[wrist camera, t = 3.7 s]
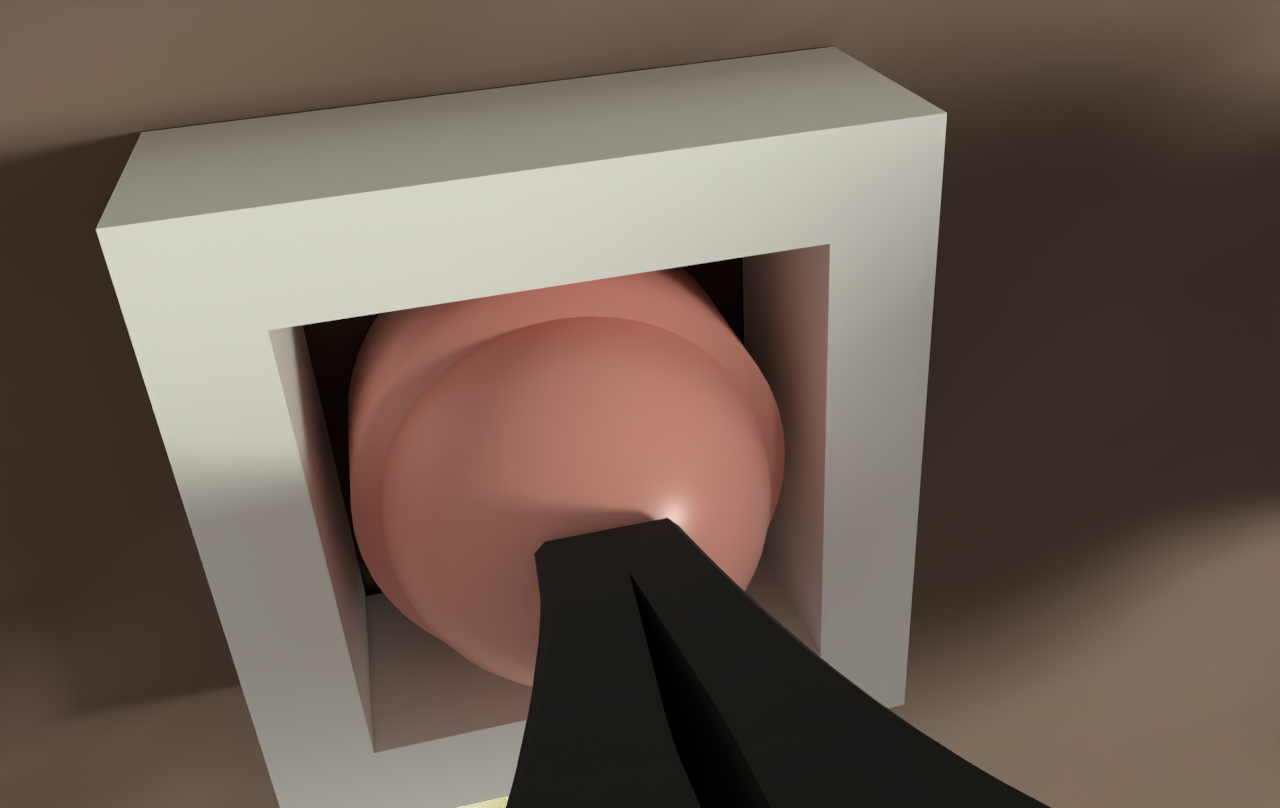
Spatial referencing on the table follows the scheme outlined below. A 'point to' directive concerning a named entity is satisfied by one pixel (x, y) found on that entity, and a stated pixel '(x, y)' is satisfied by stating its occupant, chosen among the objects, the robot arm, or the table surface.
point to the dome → (551, 446)
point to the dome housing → (506, 263)
